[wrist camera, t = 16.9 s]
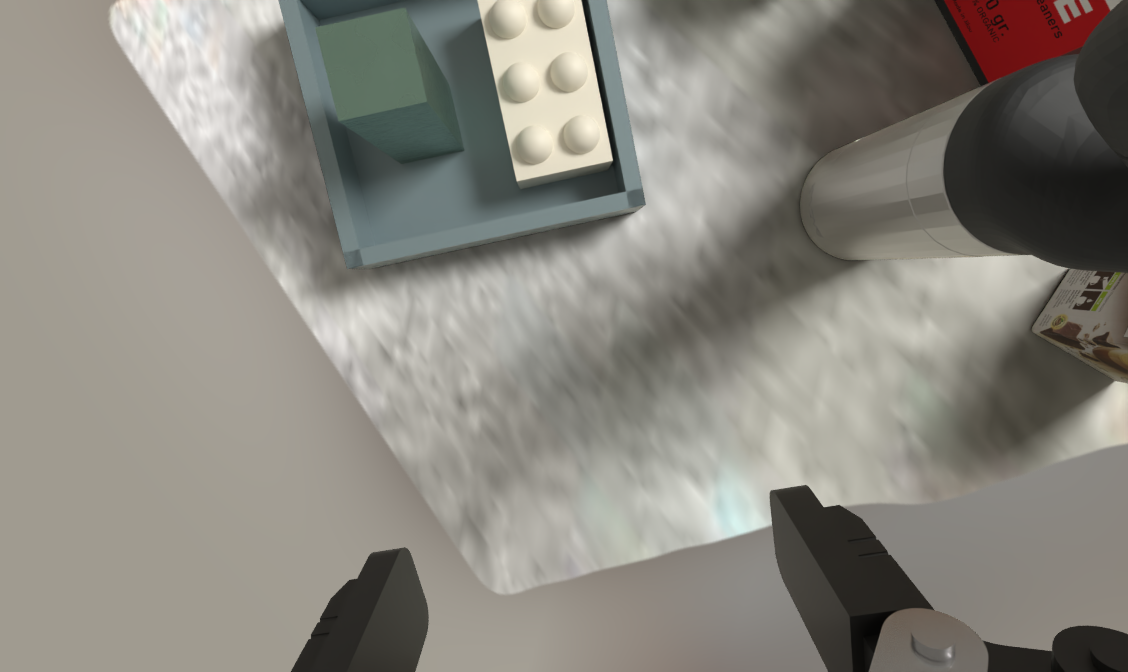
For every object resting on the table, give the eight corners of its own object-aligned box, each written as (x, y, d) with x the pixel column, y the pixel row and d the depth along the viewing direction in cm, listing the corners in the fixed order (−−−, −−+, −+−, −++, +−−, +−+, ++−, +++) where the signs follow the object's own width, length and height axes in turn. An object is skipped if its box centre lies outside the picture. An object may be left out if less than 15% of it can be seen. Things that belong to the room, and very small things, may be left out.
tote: (585, -50, 44) (589, -90, 39) (636, 211, 46) (645, 204, 41) (305, 12, 44) (273, -20, 39) (369, 268, 46) (347, 268, 41)
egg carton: (573, -3, 43) (575, -41, 38) (607, 170, 45) (614, 157, 40) (482, 17, 43) (472, -18, 38) (520, 189, 45) (515, 178, 40)
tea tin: (449, 84, 44) (405, 7, 31) (464, 150, 44) (427, 101, 32) (385, 98, 44) (314, 27, 31) (401, 164, 45) (338, 121, 32)
